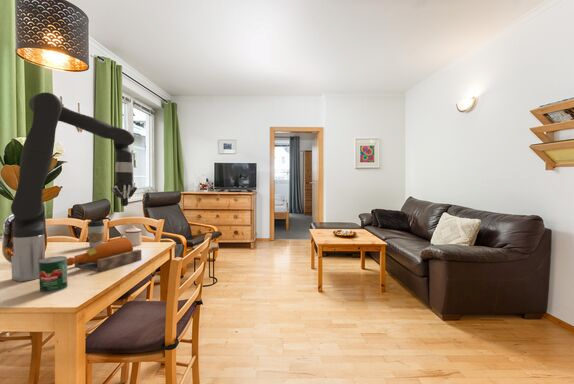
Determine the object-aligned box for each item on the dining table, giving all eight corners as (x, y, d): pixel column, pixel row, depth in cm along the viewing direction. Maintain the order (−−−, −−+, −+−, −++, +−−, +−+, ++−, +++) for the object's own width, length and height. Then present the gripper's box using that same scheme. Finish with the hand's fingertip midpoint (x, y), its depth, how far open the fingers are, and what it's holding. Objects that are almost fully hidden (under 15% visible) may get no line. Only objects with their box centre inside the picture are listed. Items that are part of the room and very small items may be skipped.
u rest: (101, 271, 119) (101, 260, 119) (74, 266, 126) (74, 255, 126) (141, 259, 138) (141, 250, 138) (116, 255, 145) (116, 246, 145)
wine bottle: (136, 255, 138) (68, 274, 111) (123, 258, 142) (55, 277, 114) (132, 236, 139) (64, 250, 111) (119, 239, 142) (51, 254, 115)
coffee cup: (85, 248, 158) (84, 223, 158) (91, 245, 166) (90, 221, 166) (101, 248, 160) (101, 222, 160) (106, 244, 168) (106, 220, 168)
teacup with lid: (144, 243, 174) (144, 224, 174) (138, 246, 165) (138, 227, 165) (123, 243, 173) (123, 225, 172) (117, 246, 164) (116, 227, 163)
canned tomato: (66, 283, 106) (65, 255, 106) (69, 288, 101) (68, 259, 100) (38, 288, 101) (37, 259, 100) (40, 295, 95) (39, 263, 95)
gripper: (116, 171, 130) (117, 207, 131) (141, 172, 142) (141, 205, 143) (106, 171, 133) (106, 206, 134) (130, 172, 145) (131, 204, 146)
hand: (124, 205), depth 138 cm, fingers closed
